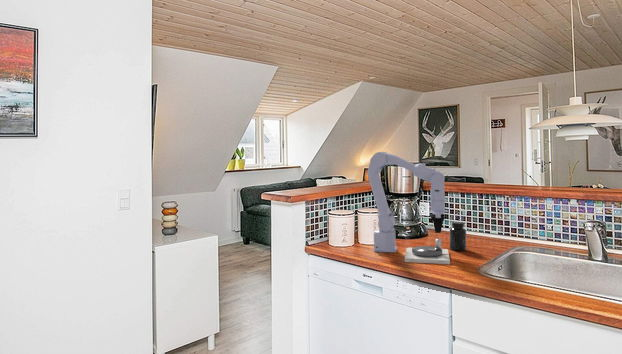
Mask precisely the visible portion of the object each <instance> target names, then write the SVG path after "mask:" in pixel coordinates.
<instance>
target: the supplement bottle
mask: <svg viewBox="0 0 622 354" xmlns="http://www.w3.org/2000/svg"><path fill="white" fill-rule="evenodd" d="M464 225H465V223H464V222H463V221H452V222H451V228H450V229H449V250H451V251H454V252H455V251H456V252H463V251H464V252H465V251H466V250H467V230H466V228H464V227H465V226H464Z"/></svg>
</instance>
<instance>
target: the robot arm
mask: <svg viewBox="0 0 622 354" xmlns="http://www.w3.org/2000/svg"><path fill="white" fill-rule="evenodd" d="M388 165H396V166H398V167H400V168H402V169H406V170H408V171H410V172H412V175H413V176H414V177H416V178H419V179H420V180H423V181H425V182H429V183H430V210H429V212H430V218H431V220H432V223H433V228H434V233H436V234H441V232H442V229H443V223H444V221H445V220H446V219H445V218H446V217H445V215H446V214H445V213H448V212H449V210H447V209H445V207H446V205H445V203H446V200H445V199H446V195H445V194H446V193H445V192H446V191H445V181H446V180H445V178H446V177H445V175H444V173H443V172H441V171H439V170H437V169H436V168H431V167H429V166H426V164H425V163H416V164H415V163H412V162H410V161H408V160H406V159H405V158H402V157H400V156H398V155H397V154H392V153H389V152H388V153H387V152H386V151H377V152H375V153H374V154H373V155H372V157H371V158H370V160H369V165H368V168H367V177H368V182H369V185H370V188H371V191H372V195H373V198H374V202H375V205H376V208H377V209H376V210H377V218H378V222H377V226H378V229H377V230H374V233H373V251H374V252H375V253H376V252H377V253H378V252H379V253H381V252H382V253H396V252H397V251H398V246H396V244H397V242H396V239H397V238H396V228H395V227H394V226H395V225H396V223H397V222H396V218H395V216H394V215H393V213H392V211H391V209H390V207H389V204H388V201H387V196H386V194H385V190H384V187H383V183H382V180H381V176H380V175H381V174H380V173H381V172H382V170H383V168H385V167H386V166H388Z"/></svg>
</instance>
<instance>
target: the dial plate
mask: <svg viewBox="0 0 622 354" xmlns="http://www.w3.org/2000/svg"><path fill="white" fill-rule="evenodd" d="M412 248H413V247H406V251H405V255H404V262H405V263H419V264H421V263H422V264H437V265H439V264H440V265H451V260H450V259H451V258H450V254H449V249H448V248H441V249H442V255H440V256H436V257H423V256H417V255H414V254H413V253H412Z"/></svg>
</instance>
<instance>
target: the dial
mask: <svg viewBox="0 0 622 354" xmlns="http://www.w3.org/2000/svg"><path fill="white" fill-rule="evenodd" d="M434 241H435V242H434V243H435V245H434V246H432V245H418V246H413V247H411V248H412V253H413V254H414V255H417V256H423V257H436V256H440V255H442V249H443V248H442V239H441V238H435V239H434Z"/></svg>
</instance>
